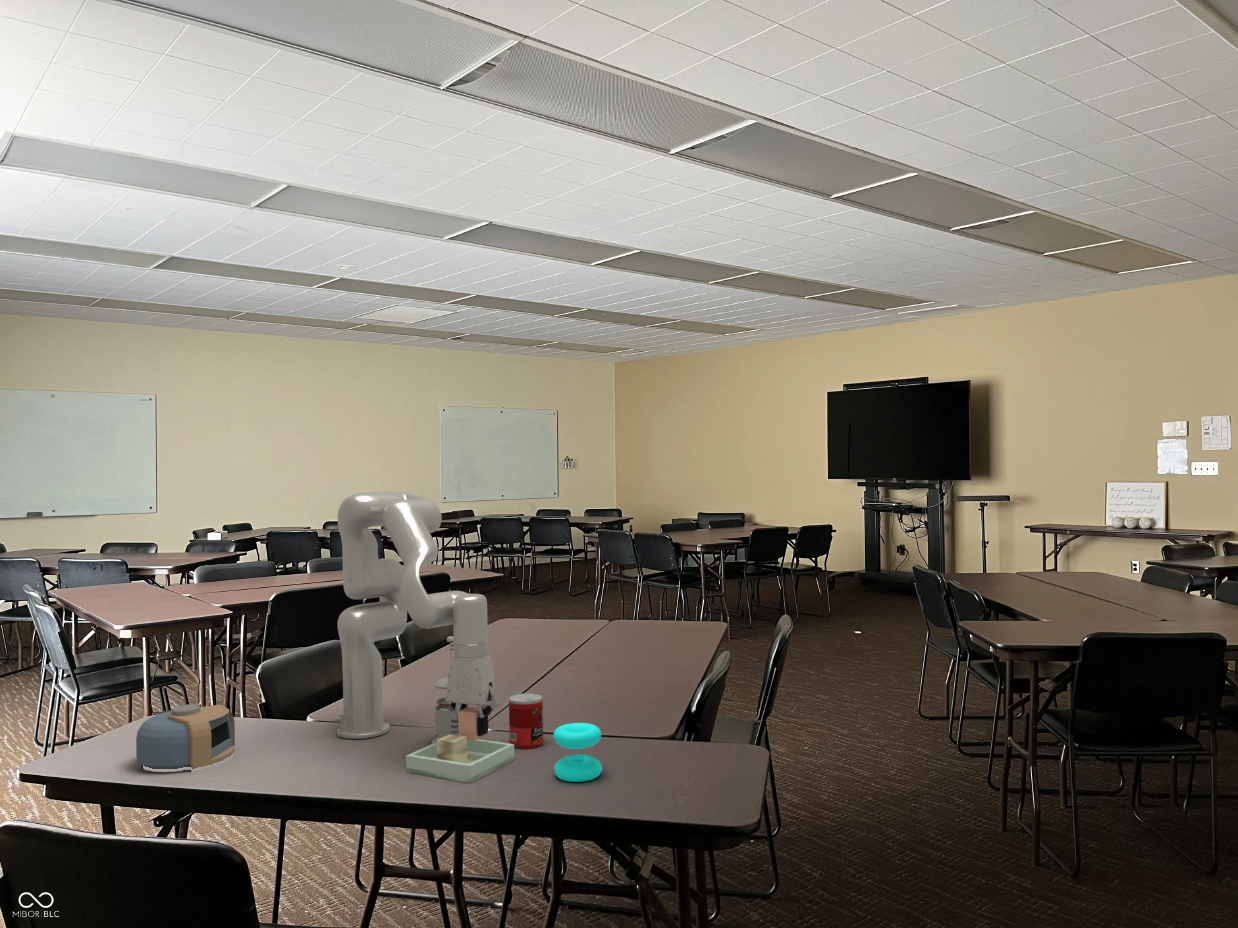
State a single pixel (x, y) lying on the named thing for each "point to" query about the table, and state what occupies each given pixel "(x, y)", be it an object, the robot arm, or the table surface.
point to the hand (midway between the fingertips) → (473, 732)
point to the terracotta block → (468, 723)
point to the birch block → (452, 748)
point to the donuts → (578, 765)
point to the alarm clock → (186, 737)
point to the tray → (479, 763)
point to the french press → (445, 719)
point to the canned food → (526, 720)
